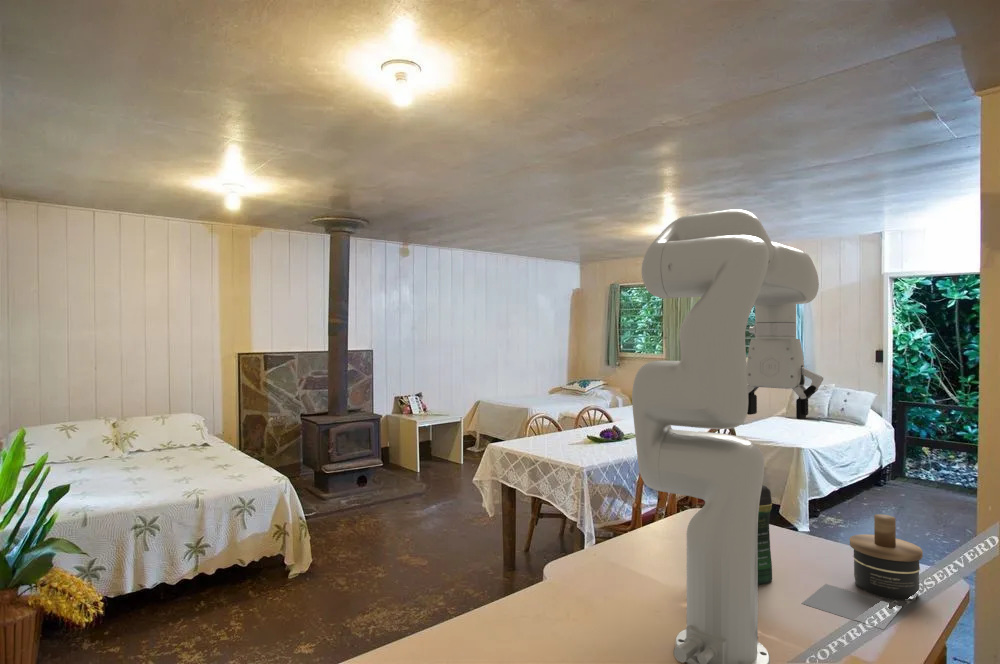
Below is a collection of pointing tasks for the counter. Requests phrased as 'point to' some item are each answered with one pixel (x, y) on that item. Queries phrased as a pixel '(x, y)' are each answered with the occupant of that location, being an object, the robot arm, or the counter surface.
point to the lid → (885, 542)
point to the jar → (886, 576)
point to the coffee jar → (764, 538)
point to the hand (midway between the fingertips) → (775, 416)
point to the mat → (842, 601)
